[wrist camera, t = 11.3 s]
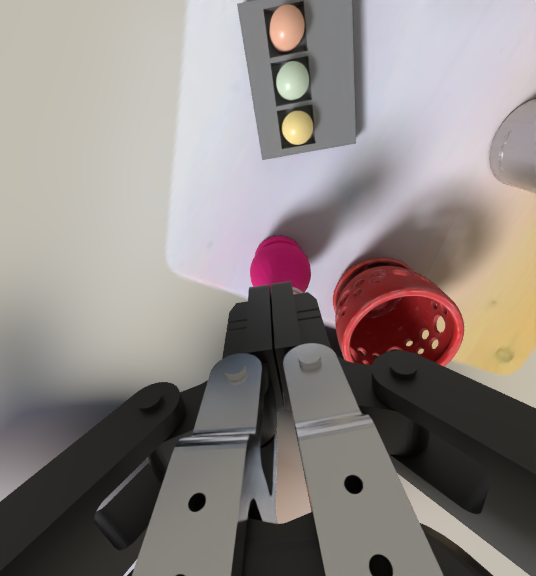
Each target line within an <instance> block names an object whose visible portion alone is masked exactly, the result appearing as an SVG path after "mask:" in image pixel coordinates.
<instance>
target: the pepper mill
mask: <svg viewBox="0 0 536 576" xmlns="http://www.w3.org/2000/svg"><path fill="white" fill-rule="evenodd" d="M250 276H251V282H252V285H253V287H255V286H262V285H268V284H269V285H270V289H271V284H274V283H281V282H287V281H291V284H292V289H293V295H294V294H300V293H304V292H305V291H306V289H307V288H308V285H309V282H310V278H311V270H310V264H309V261H308V259H307V257H306V255H305V254H304V253H303V252H302V251H301V249H300V247H299V245H298V244H297V243H296V242H295V241H294V240H292V239H290V238H288V237H285V236H274V237H270V238H268V239H266V240H264V241H263V242H262V243H261V244H260V245H259V247H258V248H257V250H256V253H255V257H254V259H253V261H252V264H251V268H250Z"/></svg>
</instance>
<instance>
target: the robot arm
mask: <svg viewBox="0 0 536 576" xmlns="http://www.w3.org/2000/svg"><path fill="white" fill-rule="evenodd" d="M489 160H490V166H491V169H492V172H493V174H494V175H495V176H496V177H497V179H498V180H500V181H501V182H503V183H504V184H508V185H511V186H514V187H517V188H521V189H524V190H527V191H530V192H533V193H536V98H535V99H532V100H530V101H528V102H526V103H524V104H523V105H521V106H519V107H518V108H517V109H516V110H515V111H513V112H512V113H511V114H510V115H509V116H508V117H507V118H506V119H505V121H504V122H503V123H502V124H501V126H500V128H499V129H498V131H497V132H496V135H495V137H494V139H493V141H492V145H491V149H490V159H489ZM283 393H284V397H283ZM284 398H285V403H286V408H287V410H290V409H292V414H293V419H294V425H295V430H296V436H297V441H298V446H299V451H300V456H301V461H302V466H303V471H304V476H305V481H306V487H307V492H308V497H309V502H310V507H311V513H308V514H306V515H304V516H301V517H299V518H297V519H294V520H292V521H289V522H287V523H284V524H277V516H276V478H277V444H278V435H277V430H276V429H277V411H283V410H284ZM145 459H146V460H147V462H148V464H147V465H146V466H145V467H144V468H143V469H142V470H141V471H140V472H139V473H138V474H137V475H136V476H135V477H134V478H133V479H132V480H131V481H130V482H129V483H128V484H127V485H126V486H125V487H124V488H123V489H122V490H121V491H120V492H119V493H118V494H117V495H116V496H115V497H114V498H113V499H112V500H111V501H110V502H109V503H108V504H107V505H106V506H105V507H103V508H102V509H101V510H99V511H97V509H98V507H99V506H100V504H101V503H102V502H103V501H104V499H105V498H107V497H108V496H109V495H110V494H111V493H112V492H113V491H114V490H115V489H116V488H117V486H119V485H120V484H121V483H122V482H123V481H124V480H125V479H126V478H127V477H128V476H129V475H130V474H131V473H132V472H133V471H134V470H135V469H136V468H137V467H138V466H139V465H140V464H141V463H142V462H143V461H144V460H145ZM396 472H397V473H398V474H399V475H401V476H402V477H403V478H404V479H406V480H407V481H408V482H410V483H411V484H412V485H414V486H415V487H416V488H417V489H419V490H420V491H422V492H423V493H424V494H425V495H426V496H428V497H429V498H430V499H432V500H433V501H434V502H436V503H437V504H438V505H439V506H441V507H442V508H443V509H445V510H446V511H447V512H449V513H450V514H451V515H453V516H454V517H455V518H456V519H458V520H459V521H460V522H462V523H463V524H464V525H465V526H467V527H468V528H469V529H471V530H472V531H473V532H475V533H476V534H477V535H478V536H480V537H481V538H482V539H484V540H485V541H486V542H487V543H489V544H490V545H491V546H493V547H494V548H495V549H497V550H498V551H499V552H501V553H502V554H503V555H504V556H506V557H507V558H508V559H509V560H511V561H512V562H513V563H515V564H516V565H517V566H519V567H520V568H521V569H523V570H524V571H525V572H526V573H528V574H529V575H530V576H536V408H534V407H531V406H529V405H527V404H525V403H523V402H520V401H518V400H516V399H514V398H512V397H510V396H507V395H505V394H503V393H501V392H499V391H496V390H494V389H492V388H490V387H488V386H485V385H483V384H481V383H479V382H477V381H474V380H472V379H470V378H468V377H466V376H463V375H461V374H459V373H457V372H455V371H453V370H450V369H448V368H446V367H444V366H442V365H439V364H437V363H435V362H433V361H431V360H428V359H426V358H424V357H422V356H420V355H417V354H415V353H411V352H407V351H390V352H386V353H383V354H381V355H380V356H378V357H377V358H376V359H375V360H374V362H373V364H372V365H367V364H358V363H352V362H349V361H346V360H344V359H342V358H340V357H338V356H337V355H336V354H335V352H334V351H333V350H332V349H331V347H330V344H329V340H328V337H327V334H326V330H325V327H324V323H323V320H322V318H321V313H320V310H319V307H318V303H317V300H316V298H314V297H313V296H312V295H311V294H309V293H308V292H307V293H300V294H294V295H293V289H292V284H291V281H287V282H281V283H274V284H271V289H270V285H269V284H268V285H262V286H255V287H249V296H248V302H241V303H236V305H235V306H234V307H233V308H232V310H231V311H230V313H229V318H228V325H227V332H226V338H225V344H224V351H223V357H222V359H221V360H220V361H219V362H217V363H216V364H215V366H214V367H213V368H212V370H211V372H210V375H209V379H208V380H207V381H206V382H204V383H202V384H200V385H198V386H196V387H193V388H190V389H188V390H186V391H183V392H179V390H178V388H177V386H175V385H174V384H172V383H168V382H159V383H155V384H151V385H149V386H147V387H145V388H143V389H141V390H140V391H138V392H137V393H135V394H134V395H133V396H132V397H130V398H129V399H128V400H127V401H125V402H124V403H123V404H122V405H121V406H119V407H118V408H117V409H115V410H114V411H113V412H112V413H110V414H109V415H108V416H107V417H105V418H104V419H103V420H102V421H101V422H99V423H98V424H97V425H96V426H94V427H93V428H92V429H91V430H89V431H88V432H87V433H86V434H84V435H83V436H82V437H81V438H79V439H78V440H77V441H76V442H74V443H73V444H72V445H71V446H69V447H68V448H67V449H66V450H65V451H63V452H62V453H61V454H60V455H58V456H57V457H56V458H54V459H53V460H52V461H51V462H49V463H48V464H47V465H46V466H44V467H43V468H42V469H41V470H39V471H38V472H37V473H36V474H34V475H33V476H32V477H31V478H29V479H28V480H27V481H26V482H24V483H23V484H22V485H21V486H19V487H18V488H17V489H16V490H14V491H13V492H12V493H11V494H9V495H8V496H7V497H6V498H4V499H3V500H2V501H1V502H0V576H123V575H124V574H125V573H126V572H127V570H128V569H129V568H130V567H131V566H132V564H133V563H134V562H135V561H136V560H137V562H136V565H135V568H134V569H133V570H132V571H131V572H130V573H129V574H128V575H127V576H493V575H492V574H491V573H490V572H488V571H487V570H486V569H485V568H484V567H483V566H481V565H480V564H479V563H478V562H477V561H476V560H474V559H473V558H472V557H471V556H470V555H469V554H468V553H467V552H465V551H464V550H463V549H462V548H460V547H459V546H458V545H457V544H455V543H454V542H452V541H451V540H449V539H448V538H447V537H445V536H444V535H442V534H440V533H439V532H437V531H435V530H433V529H432V528H430V527H428V526H426V525H423V524H421V523H419V521H418V519H417V516H416V514H415V512H414V510H413V508H412V506H411V503H410V501H409V499H408V497H407V495H406V493H405V490H404V488H403V486H402V484H401V482H400V479H399V477H398V475H397V473H396ZM96 511H97V512H96ZM137 558H138V559H137Z"/></svg>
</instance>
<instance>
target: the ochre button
mask: <svg viewBox="0 0 536 576" xmlns="http://www.w3.org/2000/svg"><path fill="white" fill-rule="evenodd" d="M281 130H282V134H283V136H284V137H285V138H286V139H287V140H288V141H289V142H290V143H292V144H295V145H300V144H303V143H305V142H306V141H307V140H308V139H309V138H310V137H311V135H312V132H313V122H312V119H311V118H310V116H309V115H308V114H307V113H305V112H303V111H292V112H289V113H288V114H287V115H286V116H285V117H284V118H283V121H282V124H281Z"/></svg>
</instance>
